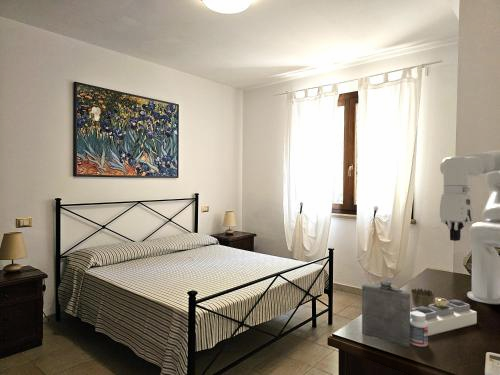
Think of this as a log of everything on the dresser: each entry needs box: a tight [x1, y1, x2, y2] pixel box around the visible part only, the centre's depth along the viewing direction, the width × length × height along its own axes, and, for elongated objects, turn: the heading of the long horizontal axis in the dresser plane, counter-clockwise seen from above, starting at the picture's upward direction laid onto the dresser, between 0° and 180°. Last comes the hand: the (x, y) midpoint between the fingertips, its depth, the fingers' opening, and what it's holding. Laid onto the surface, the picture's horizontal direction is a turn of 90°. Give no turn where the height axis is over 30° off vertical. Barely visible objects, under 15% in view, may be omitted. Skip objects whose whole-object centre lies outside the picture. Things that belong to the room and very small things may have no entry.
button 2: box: [451, 299, 464, 306], centre depth 116 cm, size 4×4×3 cm
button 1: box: [418, 306, 430, 314], centre depth 110 cm, size 4×4×3 cm
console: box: [410, 299, 478, 337], centre depth 113 cm, size 23×9×6 cm, turn 112°
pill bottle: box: [410, 311, 429, 347], centre depth 101 cm, size 5×5×9 cm
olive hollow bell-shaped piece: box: [410, 287, 435, 308], centre depth 123 cm, size 8×7×8 cm
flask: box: [361, 279, 411, 347], centre depth 103 cm, size 4×14×18 cm, turn 52°
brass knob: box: [434, 297, 448, 309], centre depth 113 cm, size 4×4×3 cm
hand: (455, 240), depth 122 cm, fingers closed
